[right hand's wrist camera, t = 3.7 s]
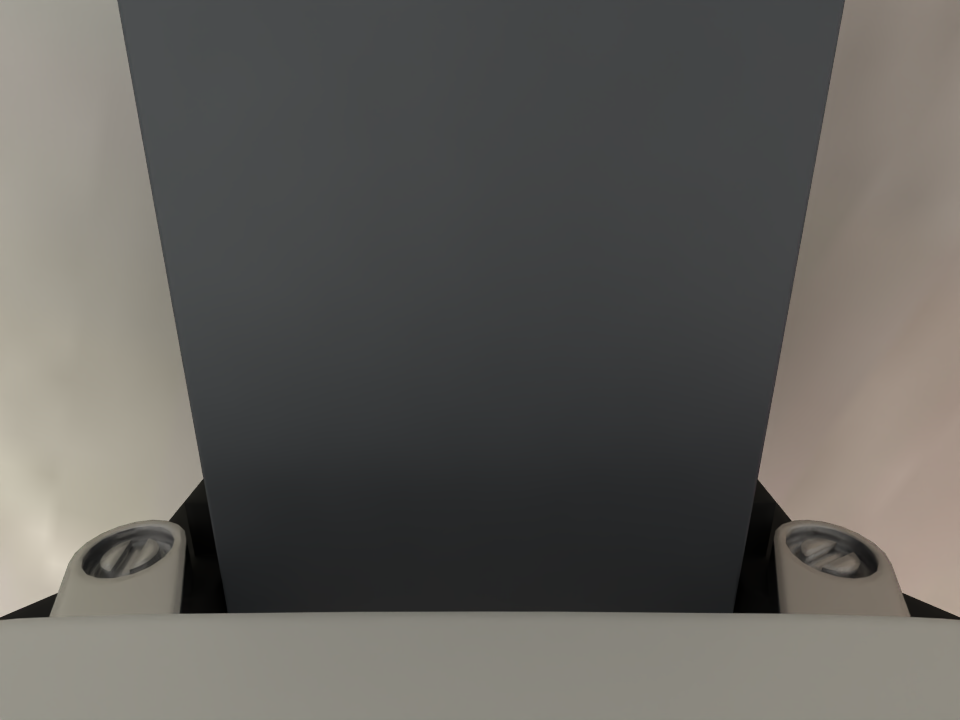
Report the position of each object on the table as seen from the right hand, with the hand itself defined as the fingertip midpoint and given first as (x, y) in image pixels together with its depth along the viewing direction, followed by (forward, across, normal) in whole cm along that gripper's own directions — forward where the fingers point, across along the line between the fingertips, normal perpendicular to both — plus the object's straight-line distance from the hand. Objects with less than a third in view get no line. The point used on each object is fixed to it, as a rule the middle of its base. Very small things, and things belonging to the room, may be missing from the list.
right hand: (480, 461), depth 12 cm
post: (+1, 0, -31) cm, 31 cm away
